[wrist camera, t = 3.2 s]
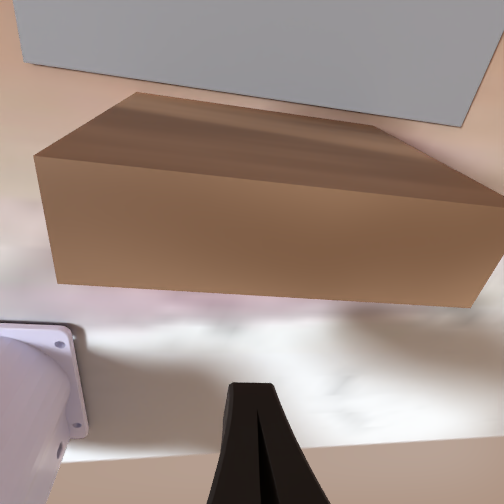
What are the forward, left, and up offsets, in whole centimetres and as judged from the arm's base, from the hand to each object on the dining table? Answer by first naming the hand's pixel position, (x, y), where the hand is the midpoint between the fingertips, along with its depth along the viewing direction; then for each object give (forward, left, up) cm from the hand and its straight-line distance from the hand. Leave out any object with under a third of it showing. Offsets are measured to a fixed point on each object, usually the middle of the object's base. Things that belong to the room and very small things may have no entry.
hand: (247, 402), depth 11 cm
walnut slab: (+6, 0, -7) cm, 9 cm away
